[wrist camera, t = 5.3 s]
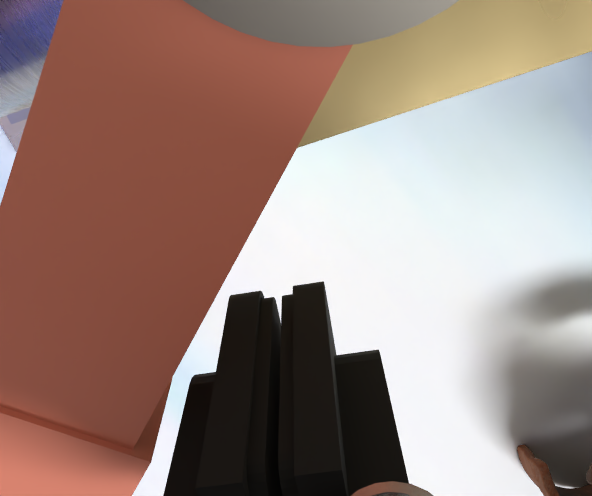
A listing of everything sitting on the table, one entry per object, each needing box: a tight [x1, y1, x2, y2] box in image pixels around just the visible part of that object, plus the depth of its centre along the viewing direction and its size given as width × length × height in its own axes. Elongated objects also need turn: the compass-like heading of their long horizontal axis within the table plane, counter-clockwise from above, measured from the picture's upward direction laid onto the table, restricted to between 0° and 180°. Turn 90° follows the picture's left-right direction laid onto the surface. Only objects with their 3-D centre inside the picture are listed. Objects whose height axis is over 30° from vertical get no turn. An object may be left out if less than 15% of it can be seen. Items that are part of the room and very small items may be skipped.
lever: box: [0, 0, 459, 496], centre depth 7 cm, size 13×4×2 cm, turn 152°
